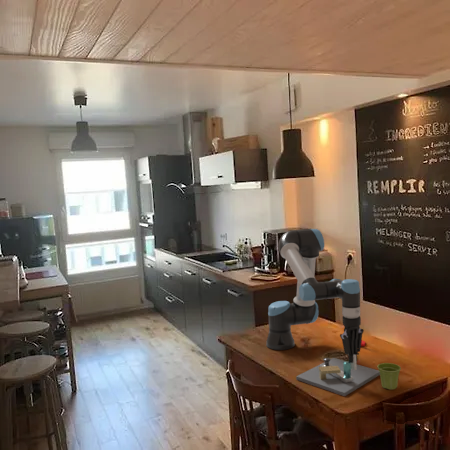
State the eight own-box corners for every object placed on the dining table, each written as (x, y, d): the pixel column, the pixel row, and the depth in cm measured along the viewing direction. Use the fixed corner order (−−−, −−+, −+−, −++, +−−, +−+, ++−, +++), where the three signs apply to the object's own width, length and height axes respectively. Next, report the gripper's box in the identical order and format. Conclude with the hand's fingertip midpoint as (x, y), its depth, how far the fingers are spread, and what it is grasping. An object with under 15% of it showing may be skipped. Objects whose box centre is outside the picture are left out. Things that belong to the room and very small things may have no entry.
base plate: (296, 379, 213) (296, 376, 212) (333, 360, 232) (333, 357, 232) (344, 396, 194) (344, 392, 194) (380, 374, 214) (380, 371, 214)
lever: (319, 367, 219) (318, 351, 219) (328, 365, 221) (327, 349, 221) (344, 383, 202) (344, 365, 201) (354, 380, 204) (353, 362, 203)
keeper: (318, 376, 211) (318, 366, 211) (337, 374, 212) (337, 365, 211) (321, 380, 206) (321, 371, 206) (340, 379, 207) (340, 370, 206)
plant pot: (374, 383, 205) (373, 363, 205) (395, 381, 206) (394, 361, 205) (383, 392, 196) (382, 372, 195) (405, 390, 197) (404, 370, 196)
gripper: (348, 321, 196) (350, 375, 199) (368, 314, 204) (369, 367, 206) (334, 317, 202) (336, 370, 205) (354, 311, 210) (355, 362, 212)
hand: (353, 369), depth 205 cm, fingers closed
